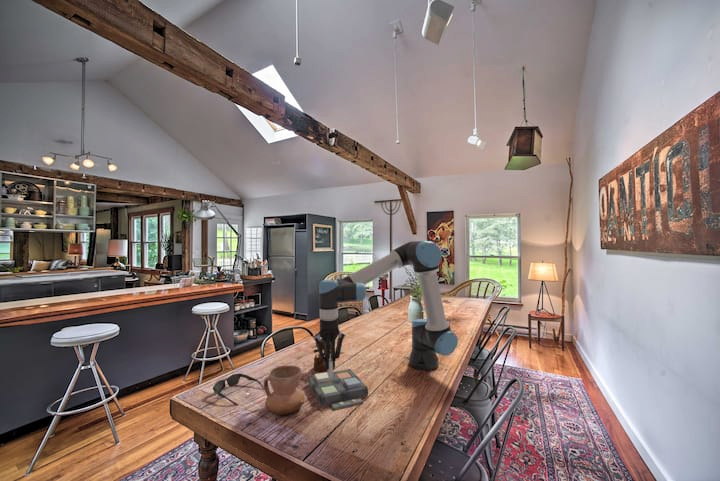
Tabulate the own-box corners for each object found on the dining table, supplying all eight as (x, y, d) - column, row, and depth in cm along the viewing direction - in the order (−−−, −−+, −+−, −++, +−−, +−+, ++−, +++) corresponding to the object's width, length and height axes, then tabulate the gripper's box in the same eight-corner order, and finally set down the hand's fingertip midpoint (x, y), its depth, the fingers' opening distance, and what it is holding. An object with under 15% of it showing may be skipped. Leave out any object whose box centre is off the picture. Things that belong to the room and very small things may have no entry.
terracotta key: (347, 376, 137) (347, 371, 137) (351, 381, 132) (351, 376, 132) (336, 378, 135) (336, 373, 135) (340, 383, 130) (340, 378, 130)
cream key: (326, 377, 133) (326, 372, 134) (330, 382, 128) (330, 377, 128) (314, 379, 131) (314, 374, 131) (317, 384, 126) (317, 379, 126)
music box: (322, 376, 140) (320, 333, 142) (307, 372, 147) (304, 331, 149) (344, 365, 152) (341, 326, 154) (328, 362, 159) (326, 324, 160)
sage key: (333, 390, 124) (333, 385, 124) (337, 396, 119) (337, 391, 119) (320, 393, 122) (320, 387, 122) (324, 399, 117) (324, 394, 117)
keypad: (350, 376, 140) (350, 368, 140) (367, 396, 122) (367, 387, 122) (308, 384, 132) (308, 376, 132) (320, 406, 114) (320, 397, 114)
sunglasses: (240, 381, 137) (241, 370, 136) (267, 393, 129) (268, 382, 129) (207, 397, 122) (208, 385, 122) (235, 412, 114) (236, 399, 114)
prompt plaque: (359, 399, 119) (359, 397, 119) (362, 403, 117) (362, 400, 117) (331, 405, 115) (331, 403, 115) (333, 409, 112) (333, 407, 112)
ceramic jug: (314, 403, 117) (314, 366, 117) (292, 423, 103) (292, 382, 104) (277, 395, 124) (276, 360, 124) (252, 413, 110) (251, 374, 111)
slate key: (355, 382, 128) (355, 377, 128) (360, 388, 123) (360, 382, 123) (343, 384, 126) (343, 379, 126) (348, 390, 121) (348, 385, 121)
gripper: (341, 314, 127) (342, 369, 127) (311, 318, 122) (312, 375, 122) (347, 318, 120) (348, 377, 120) (315, 322, 115) (317, 383, 115)
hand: (330, 376), depth 121 cm, fingers closed
